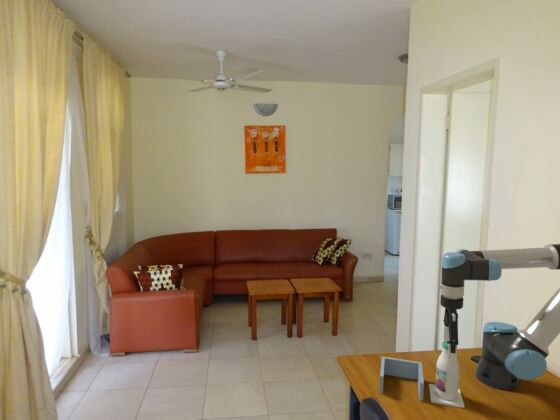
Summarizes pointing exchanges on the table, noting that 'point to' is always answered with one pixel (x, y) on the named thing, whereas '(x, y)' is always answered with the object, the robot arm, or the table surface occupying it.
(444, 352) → the milk bottle
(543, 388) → the table surface
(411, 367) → the grey u-shaped piece
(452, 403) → the tile
